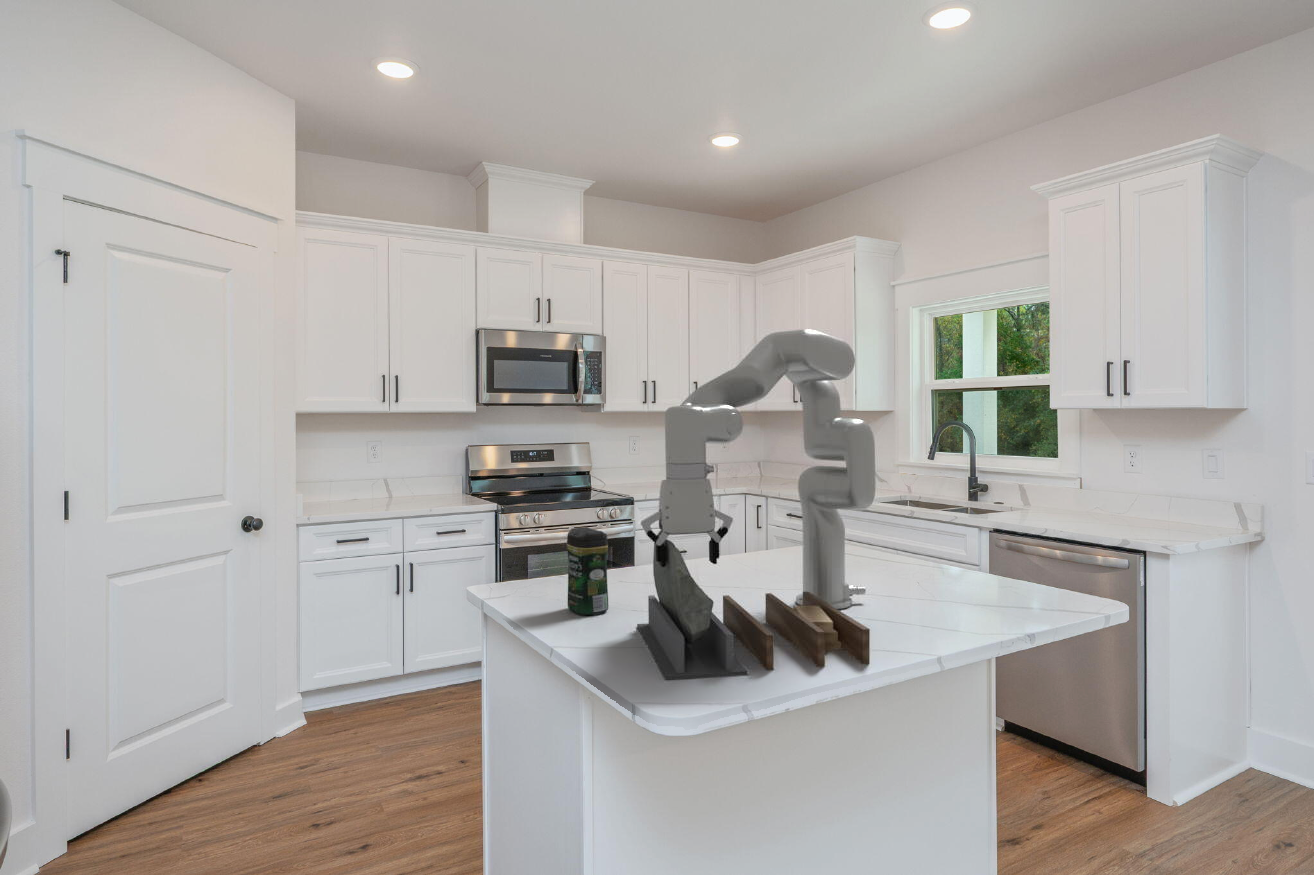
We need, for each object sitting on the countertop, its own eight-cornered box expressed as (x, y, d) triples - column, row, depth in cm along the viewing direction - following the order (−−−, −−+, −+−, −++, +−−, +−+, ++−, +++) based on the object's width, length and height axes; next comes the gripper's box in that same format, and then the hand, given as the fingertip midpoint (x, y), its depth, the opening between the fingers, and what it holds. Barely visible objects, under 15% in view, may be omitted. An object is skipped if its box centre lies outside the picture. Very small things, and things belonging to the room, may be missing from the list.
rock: (728, 662, 128) (708, 547, 127) (693, 671, 127) (673, 556, 125) (682, 622, 154) (665, 526, 152) (653, 629, 152) (636, 533, 151)
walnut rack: (808, 619, 159) (808, 591, 159) (869, 663, 131) (869, 629, 131) (723, 624, 156) (722, 595, 156) (766, 670, 128) (766, 635, 127)
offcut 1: (818, 615, 150) (818, 605, 150) (833, 633, 138) (833, 622, 138) (793, 615, 150) (793, 605, 150) (805, 632, 138) (805, 622, 138)
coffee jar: (562, 608, 170) (561, 527, 169) (593, 604, 174) (592, 524, 174) (581, 618, 162) (580, 532, 161) (613, 613, 166) (613, 529, 165)
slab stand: (703, 623, 157) (703, 591, 157) (747, 674, 125) (747, 635, 125) (637, 626, 155) (637, 595, 154) (665, 680, 123) (665, 640, 123)
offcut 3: (812, 635, 151) (812, 625, 151) (841, 653, 139) (841, 642, 139) (789, 637, 150) (789, 627, 150) (816, 655, 138) (816, 644, 138)
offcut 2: (815, 625, 151) (815, 615, 151) (837, 642, 139) (837, 632, 139) (791, 626, 150) (791, 616, 150) (811, 644, 138) (811, 633, 138)
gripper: (726, 469, 144) (727, 557, 145) (637, 472, 141) (639, 562, 142) (736, 472, 137) (738, 565, 138) (643, 476, 134) (645, 571, 135)
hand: (687, 564), depth 140 cm, fingers open, 9 cm apart
